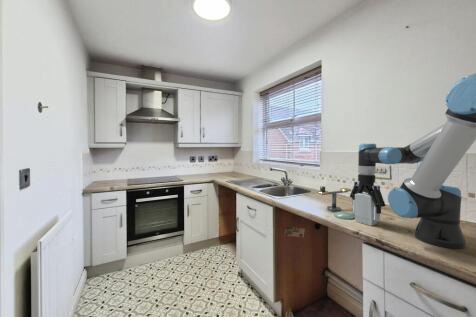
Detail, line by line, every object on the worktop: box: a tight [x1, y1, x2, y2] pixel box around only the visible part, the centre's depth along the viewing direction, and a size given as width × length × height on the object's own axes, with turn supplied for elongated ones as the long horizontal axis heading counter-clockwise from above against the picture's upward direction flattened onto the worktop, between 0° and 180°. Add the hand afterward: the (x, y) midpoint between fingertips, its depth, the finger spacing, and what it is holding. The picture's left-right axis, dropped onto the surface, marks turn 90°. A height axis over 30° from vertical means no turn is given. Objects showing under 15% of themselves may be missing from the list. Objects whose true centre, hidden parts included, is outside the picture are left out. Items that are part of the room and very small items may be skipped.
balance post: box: [326, 193, 342, 212], centre depth 132 cm, size 8×8×10 cm
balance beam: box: [316, 186, 352, 196], centre depth 132 cm, size 6×22×5 cm, turn 101°
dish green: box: [333, 211, 355, 221], centre depth 118 cm, size 10×10×1 cm
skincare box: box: [354, 192, 378, 227], centre depth 107 cm, size 8×6×15 cm
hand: (365, 215), depth 108 cm, fingers open, 13 cm apart
